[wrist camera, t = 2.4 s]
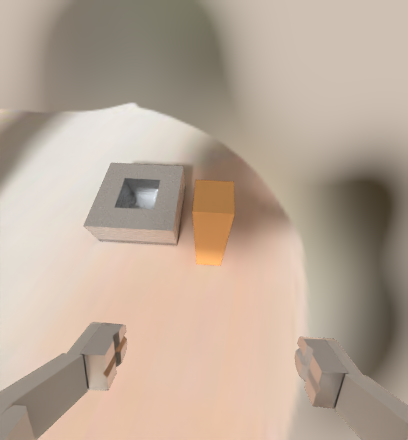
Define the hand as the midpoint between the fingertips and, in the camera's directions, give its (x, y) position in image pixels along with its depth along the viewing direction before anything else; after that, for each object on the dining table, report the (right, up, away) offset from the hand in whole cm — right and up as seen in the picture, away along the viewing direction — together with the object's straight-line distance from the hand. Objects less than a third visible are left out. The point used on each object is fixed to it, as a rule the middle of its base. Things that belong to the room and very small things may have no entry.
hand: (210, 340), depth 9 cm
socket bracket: (-10, +7, +23) cm, 26 cm away
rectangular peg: (0, +1, +20) cm, 20 cm away
